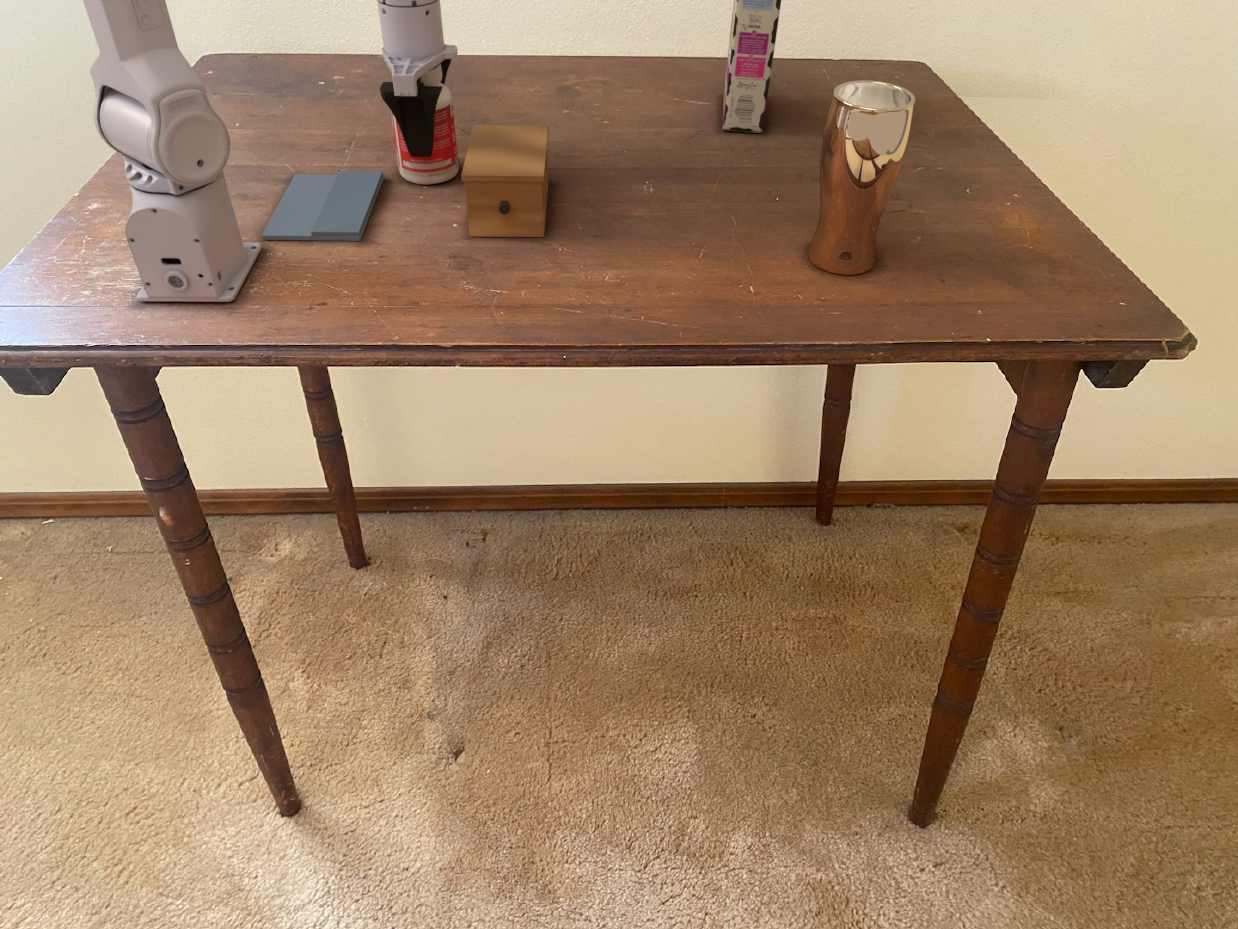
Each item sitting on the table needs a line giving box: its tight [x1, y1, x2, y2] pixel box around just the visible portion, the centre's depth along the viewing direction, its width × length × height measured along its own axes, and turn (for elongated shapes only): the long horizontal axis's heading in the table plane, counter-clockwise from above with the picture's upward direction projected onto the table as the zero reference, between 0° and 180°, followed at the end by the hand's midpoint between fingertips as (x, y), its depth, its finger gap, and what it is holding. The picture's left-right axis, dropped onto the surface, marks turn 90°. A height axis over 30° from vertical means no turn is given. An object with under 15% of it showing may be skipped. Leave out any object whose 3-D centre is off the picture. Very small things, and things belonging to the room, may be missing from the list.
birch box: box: [460, 124, 550, 238], centre depth 89 cm, size 12×7×6 cm, turn 1°
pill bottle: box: [389, 63, 460, 185], centre depth 94 cm, size 6×6×11 cm
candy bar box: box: [722, 0, 782, 134], centre depth 105 cm, size 11×5×16 cm, turn 175°
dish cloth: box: [261, 170, 385, 242], centre depth 91 cm, size 13×9×1 cm
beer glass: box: [807, 79, 916, 276], centre depth 81 cm, size 7×7×15 cm
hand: (425, 141), depth 95 cm, fingers closed on pill bottle, 6 cm apart
